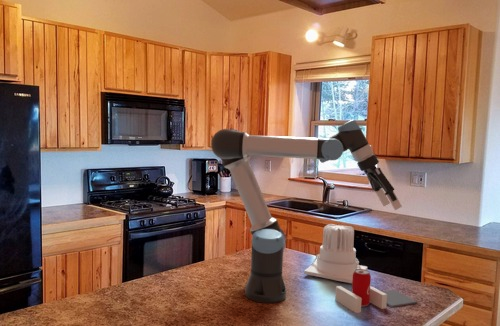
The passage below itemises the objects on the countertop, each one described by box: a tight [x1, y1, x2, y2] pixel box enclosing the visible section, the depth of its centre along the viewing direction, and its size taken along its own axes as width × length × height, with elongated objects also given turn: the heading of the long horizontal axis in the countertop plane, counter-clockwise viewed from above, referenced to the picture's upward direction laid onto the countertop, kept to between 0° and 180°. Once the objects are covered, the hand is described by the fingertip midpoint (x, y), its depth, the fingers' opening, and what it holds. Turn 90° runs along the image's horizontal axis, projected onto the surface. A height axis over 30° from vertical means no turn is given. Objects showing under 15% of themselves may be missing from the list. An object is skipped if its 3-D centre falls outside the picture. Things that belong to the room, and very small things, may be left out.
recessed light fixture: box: [303, 223, 368, 284], centre depth 178 cm, size 25×22×21 cm
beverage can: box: [351, 269, 372, 308], centre depth 147 cm, size 6×6×12 cm
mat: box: [381, 289, 418, 308], centre depth 153 cm, size 12×12×1 cm
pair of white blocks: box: [334, 285, 387, 314], centre depth 147 cm, size 13×12×5 cm
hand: (392, 206), depth 157 cm, fingers open, 13 cm apart
